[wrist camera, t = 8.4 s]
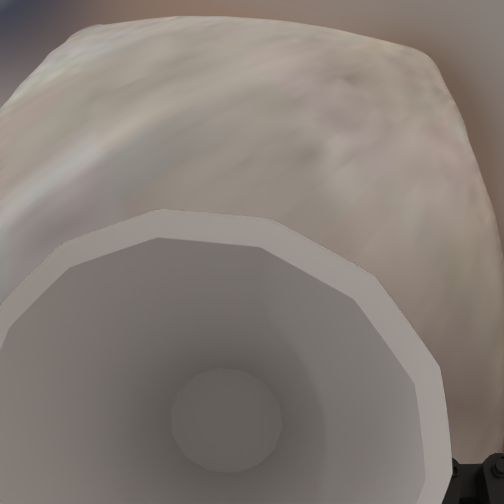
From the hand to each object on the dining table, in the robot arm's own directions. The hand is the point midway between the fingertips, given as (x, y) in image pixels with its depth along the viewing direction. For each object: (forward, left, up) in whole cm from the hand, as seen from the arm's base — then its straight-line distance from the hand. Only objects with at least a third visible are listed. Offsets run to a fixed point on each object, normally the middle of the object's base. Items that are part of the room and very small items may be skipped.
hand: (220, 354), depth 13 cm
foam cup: (+2, -3, -5) cm, 6 cm away
